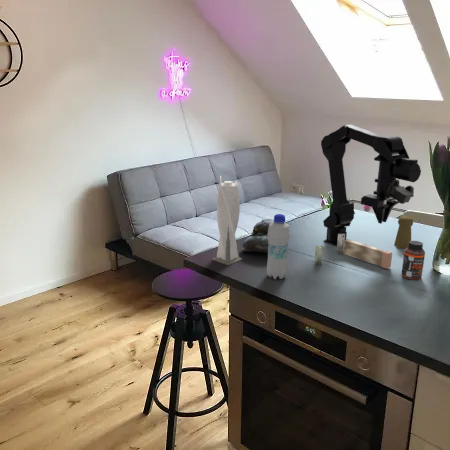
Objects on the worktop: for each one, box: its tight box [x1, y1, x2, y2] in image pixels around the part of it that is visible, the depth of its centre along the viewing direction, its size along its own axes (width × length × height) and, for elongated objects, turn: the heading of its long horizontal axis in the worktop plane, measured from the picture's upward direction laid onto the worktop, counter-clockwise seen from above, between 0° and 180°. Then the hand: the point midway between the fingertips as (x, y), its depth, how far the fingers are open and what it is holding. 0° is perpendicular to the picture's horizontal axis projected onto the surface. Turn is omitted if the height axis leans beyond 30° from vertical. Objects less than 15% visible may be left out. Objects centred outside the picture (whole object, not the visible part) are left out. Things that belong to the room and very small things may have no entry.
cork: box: [393, 215, 414, 250], centre depth 183 cm, size 6×6×11 cm
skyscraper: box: [212, 175, 243, 266], centre depth 166 cm, size 8×8×28 cm
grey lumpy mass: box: [239, 218, 274, 254], centre depth 176 cm, size 15×12×14 cm
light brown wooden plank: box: [343, 238, 393, 270], centre depth 168 cm, size 17×2×5 cm, turn 41°
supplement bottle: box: [401, 240, 426, 281], centre depth 155 cm, size 6×6×11 cm
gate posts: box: [314, 233, 345, 266], centre depth 170 cm, size 2×16×7 cm, turn 138°
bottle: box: [266, 213, 291, 280], centre depth 153 cm, size 7×7×20 cm
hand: (382, 222), depth 167 cm, fingers open, 2 cm apart
